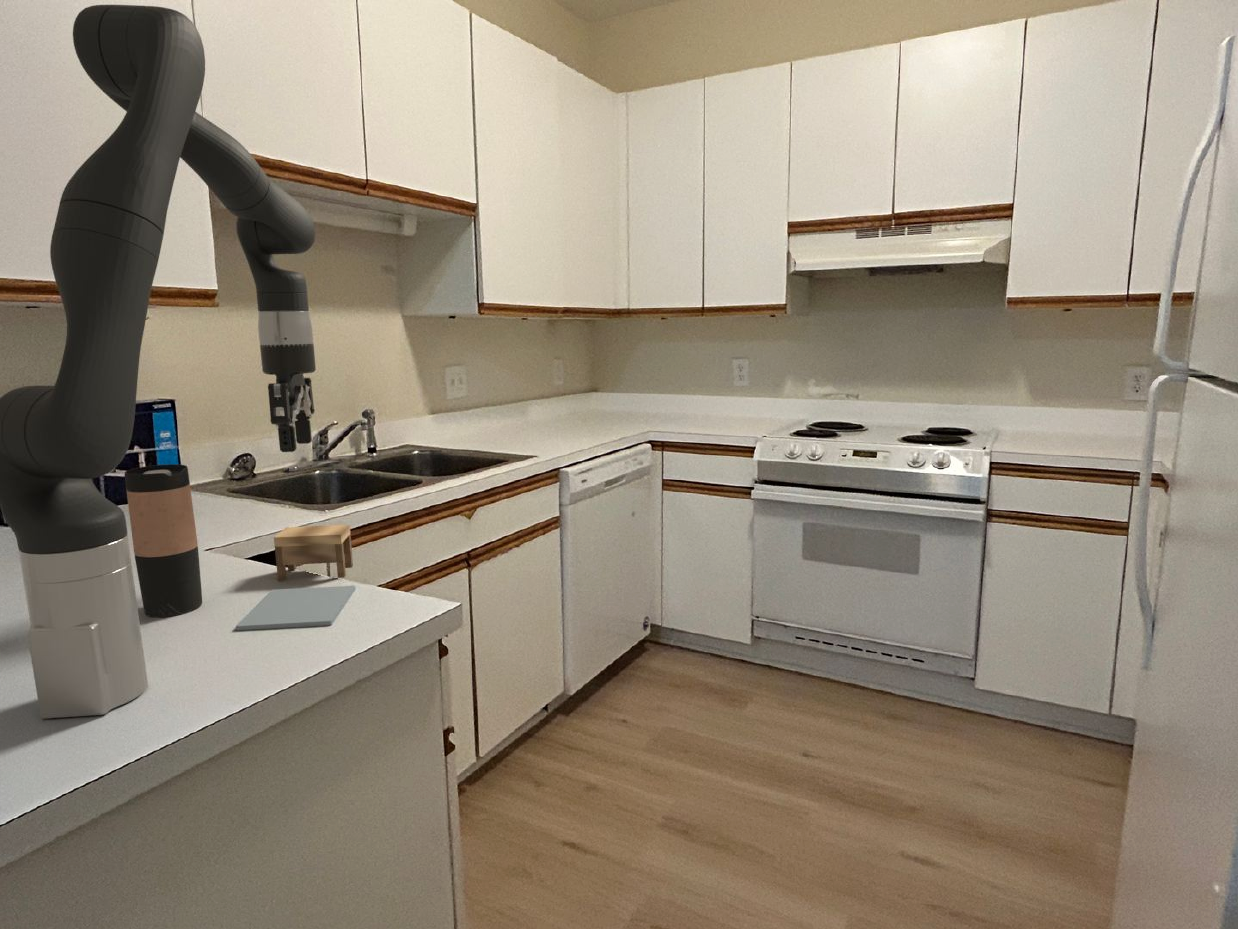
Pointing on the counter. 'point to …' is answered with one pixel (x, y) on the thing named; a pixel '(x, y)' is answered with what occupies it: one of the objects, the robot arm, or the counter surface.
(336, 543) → the stool
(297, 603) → the mat
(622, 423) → the counter surface
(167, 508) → the travel mug
